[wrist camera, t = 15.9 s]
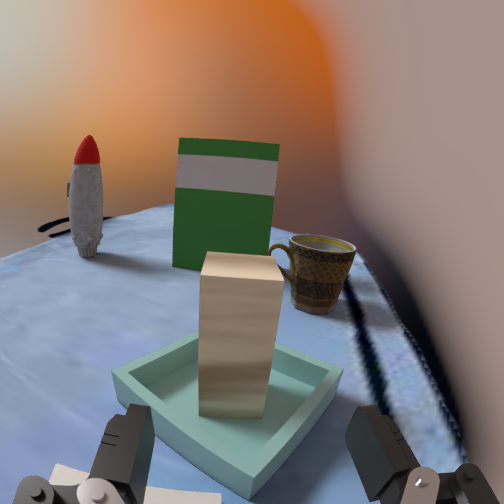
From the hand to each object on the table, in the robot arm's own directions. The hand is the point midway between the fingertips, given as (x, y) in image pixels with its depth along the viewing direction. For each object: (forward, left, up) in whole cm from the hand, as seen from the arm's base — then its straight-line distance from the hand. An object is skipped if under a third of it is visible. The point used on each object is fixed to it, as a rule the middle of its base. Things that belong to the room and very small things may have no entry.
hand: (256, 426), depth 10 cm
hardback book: (+37, +32, -11) cm, 50 cm away
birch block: (+9, +7, -9) cm, 15 cm away
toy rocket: (+19, +55, -11) cm, 59 cm away
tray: (+9, +7, -10) cm, 15 cm away
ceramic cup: (+33, +12, -11) cm, 37 cm away
